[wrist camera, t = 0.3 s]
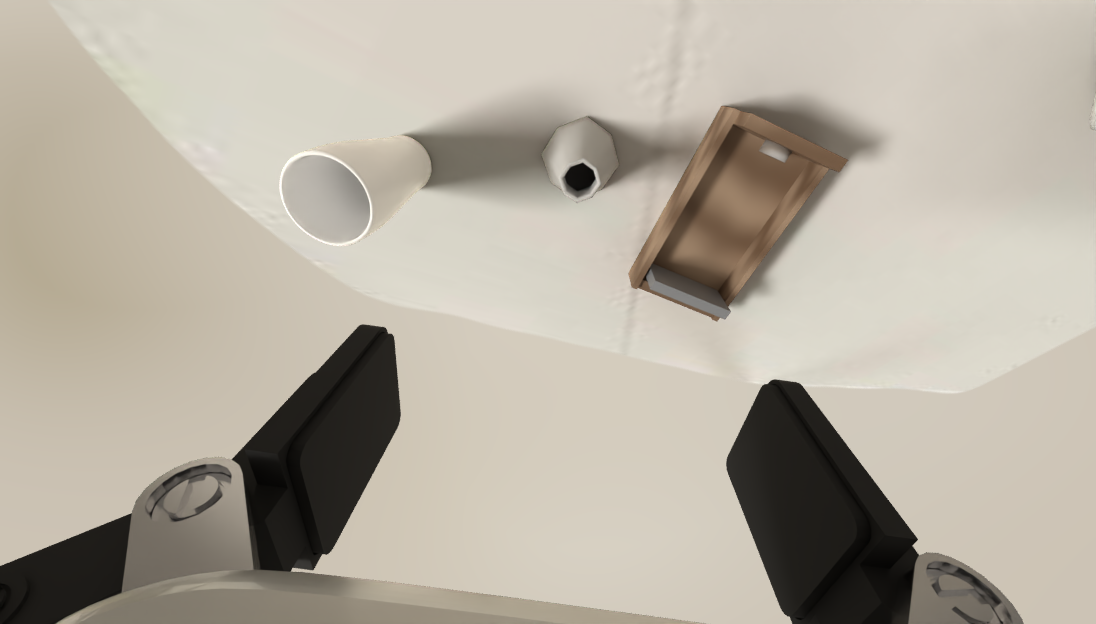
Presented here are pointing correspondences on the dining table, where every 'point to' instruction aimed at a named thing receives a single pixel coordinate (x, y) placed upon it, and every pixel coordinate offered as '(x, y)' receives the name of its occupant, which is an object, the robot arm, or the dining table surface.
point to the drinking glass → (352, 186)
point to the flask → (580, 158)
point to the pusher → (686, 291)
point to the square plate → (1093, 116)
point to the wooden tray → (732, 203)
